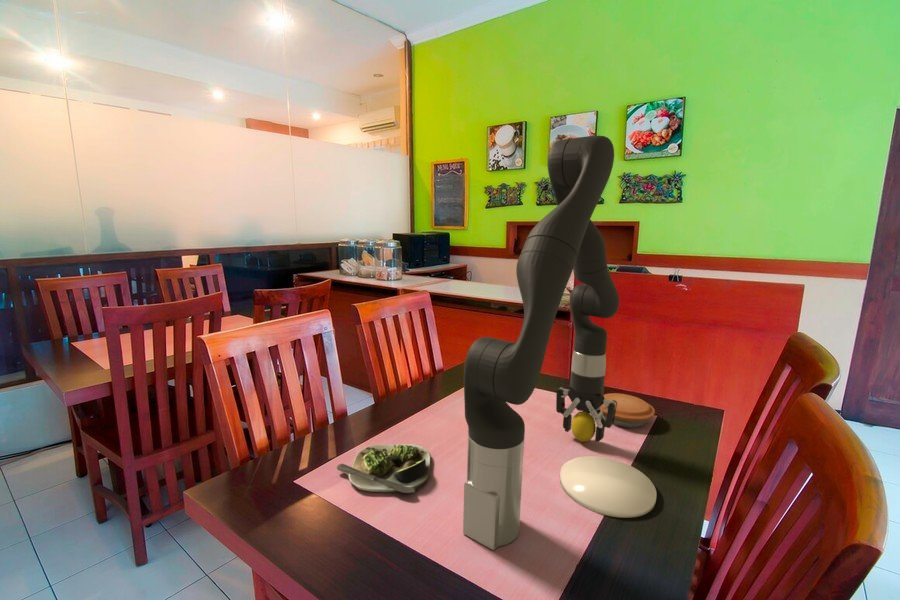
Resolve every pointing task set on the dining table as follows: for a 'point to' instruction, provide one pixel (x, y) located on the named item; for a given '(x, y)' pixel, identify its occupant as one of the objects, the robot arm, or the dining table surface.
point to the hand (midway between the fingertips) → (582, 435)
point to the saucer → (608, 486)
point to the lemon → (583, 426)
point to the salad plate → (389, 468)
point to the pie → (629, 410)
